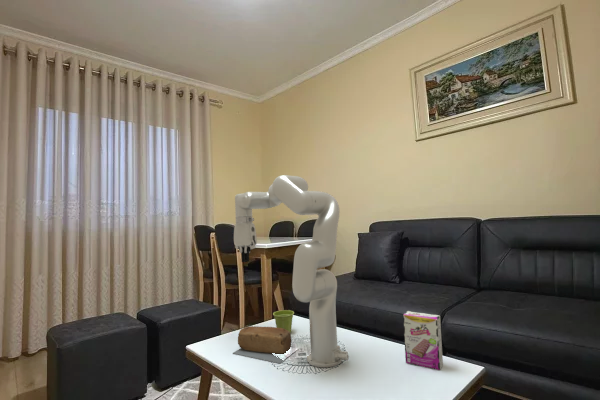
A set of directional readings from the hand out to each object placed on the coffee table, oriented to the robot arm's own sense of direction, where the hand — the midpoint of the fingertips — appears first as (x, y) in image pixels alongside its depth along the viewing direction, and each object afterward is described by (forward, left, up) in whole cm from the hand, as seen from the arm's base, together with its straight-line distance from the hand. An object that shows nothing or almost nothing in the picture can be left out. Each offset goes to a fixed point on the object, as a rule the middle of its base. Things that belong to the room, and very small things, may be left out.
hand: (245, 261), depth 146 cm
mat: (-18, +12, -32) cm, 39 cm away
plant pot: (-14, -8, -32) cm, 36 cm away
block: (-7, +12, -28) cm, 31 cm away
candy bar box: (-74, 0, -32) cm, 81 cm away
